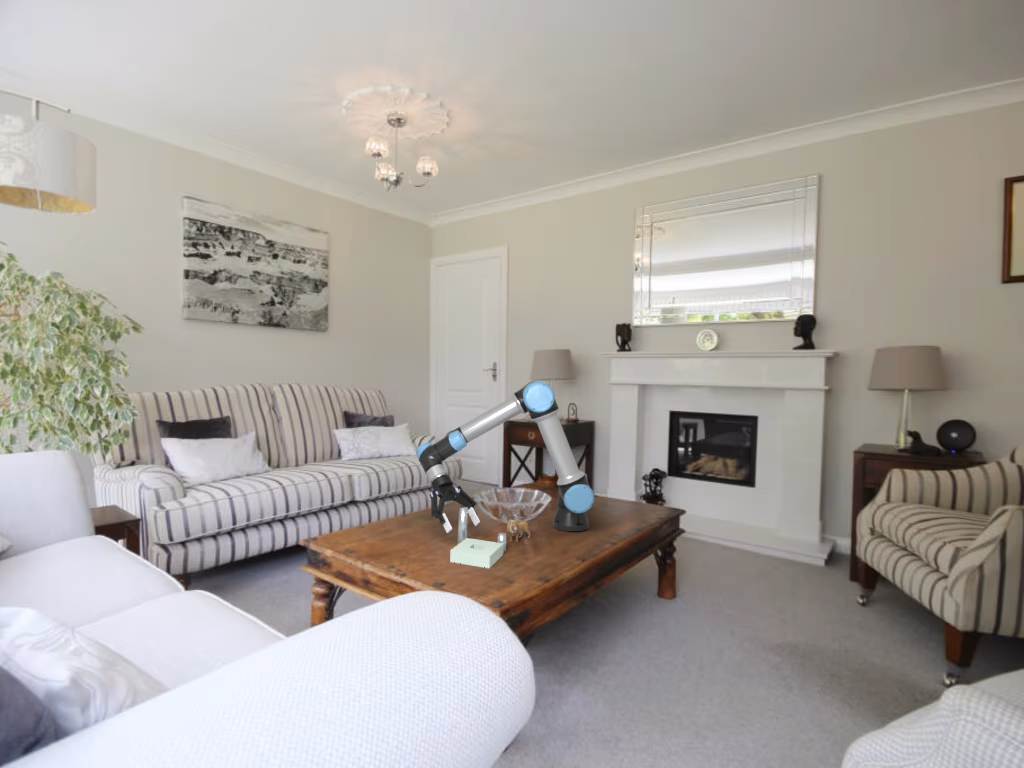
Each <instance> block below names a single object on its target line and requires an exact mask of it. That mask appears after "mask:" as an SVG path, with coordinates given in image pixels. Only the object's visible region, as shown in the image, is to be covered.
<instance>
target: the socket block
mask: <svg viewBox="0 0 1024 768" xmlns="http://www.w3.org/2000/svg"><path fill="white" fill-rule="evenodd" d="M503 548H504V543H497V542H496V541H489V540H482V539H475V538H468V537H467V538H466V539H465V540H463V541H462V542H461V543H459V544H458V543H457V545H455V546H454V547H453V548H451V549H450V552H449V553H450V555H449V559H450V561H449V562H450V563H454V562H455V563H456V564H460V563H461V565H465V566H466V565H467V566H473V567H478V568H484V567H485V568H484V569H490V568H491V567H493V565H494V564H496V563H497V562H498V561H499V559H500V558H502V557H503V556H504V552H503ZM455 563H454V564H455Z"/></svg>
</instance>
